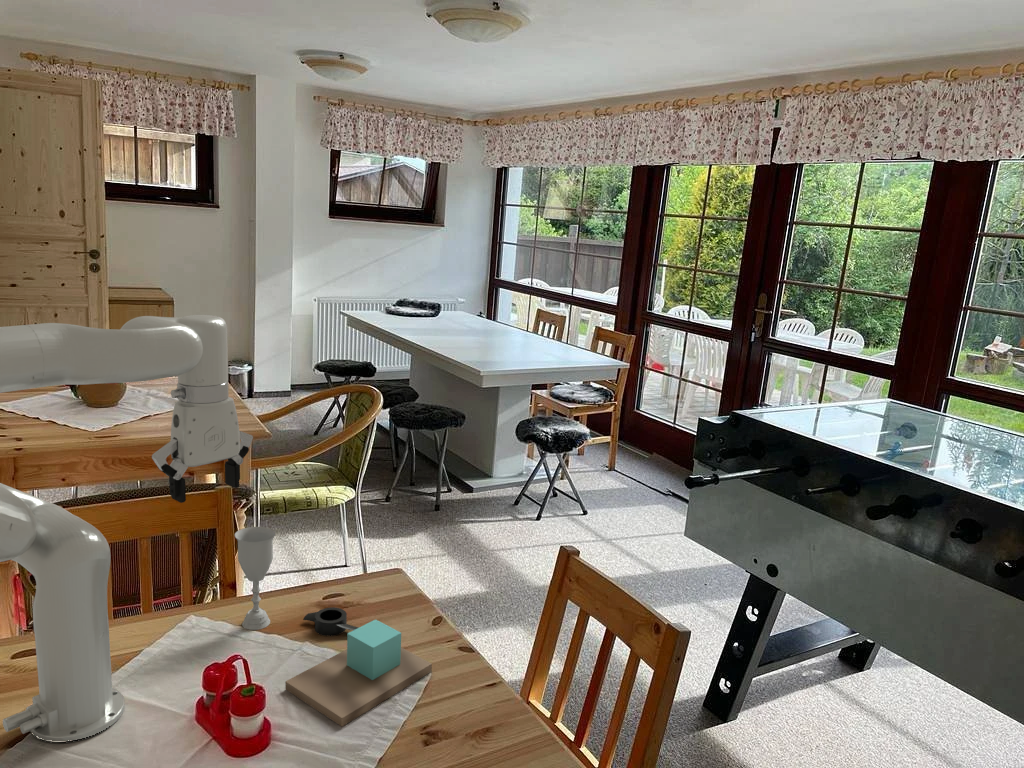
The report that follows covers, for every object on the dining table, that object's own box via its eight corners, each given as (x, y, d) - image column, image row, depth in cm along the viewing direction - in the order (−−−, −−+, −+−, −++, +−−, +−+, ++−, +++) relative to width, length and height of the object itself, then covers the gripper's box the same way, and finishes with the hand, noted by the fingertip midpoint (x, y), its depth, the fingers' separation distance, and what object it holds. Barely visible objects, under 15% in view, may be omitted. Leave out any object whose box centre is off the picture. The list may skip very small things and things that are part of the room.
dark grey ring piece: (338, 612, 153) (338, 598, 152) (361, 635, 145) (361, 621, 145) (300, 622, 148) (300, 608, 148) (322, 647, 141) (322, 632, 140)
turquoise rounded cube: (372, 680, 129) (373, 647, 128) (346, 665, 133) (347, 633, 131) (400, 664, 134) (401, 632, 133) (374, 650, 138) (375, 619, 136)
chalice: (283, 617, 149) (282, 530, 145) (263, 635, 143) (262, 544, 139) (249, 610, 151) (248, 524, 147) (228, 627, 144) (226, 537, 141)
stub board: (341, 726, 119) (342, 695, 118) (285, 689, 127) (285, 659, 126) (431, 671, 135) (432, 642, 134) (376, 641, 143) (376, 614, 142)
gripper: (164, 405, 116) (168, 513, 119) (263, 389, 129) (264, 486, 133) (138, 396, 120) (143, 500, 124) (237, 381, 134) (239, 475, 137)
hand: (206, 492), depth 128 cm, fingers open, 9 cm apart
